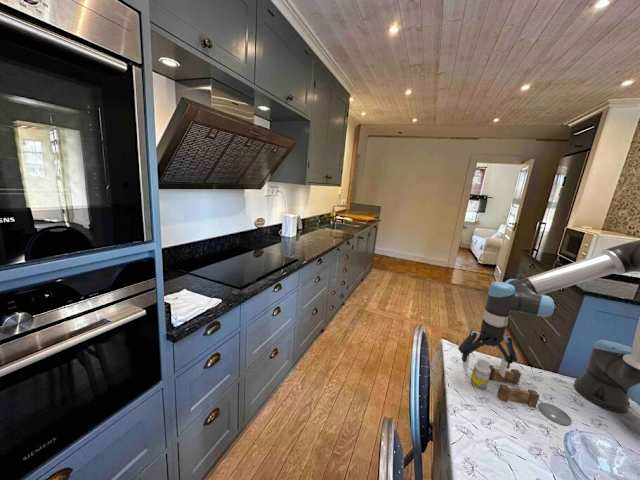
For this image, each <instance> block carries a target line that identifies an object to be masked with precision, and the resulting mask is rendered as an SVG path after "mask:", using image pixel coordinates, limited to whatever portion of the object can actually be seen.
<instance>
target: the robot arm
mask: <svg viewBox="0 0 640 480" xmlns="http://www.w3.org/2000/svg"><path fill="white" fill-rule="evenodd" d="M633 272H635V273H636V272H637V273H640V240H639V239H638V240H635V241H634V240H633V241H629V242H625V243H622V244H617V245H615V246H611V247H608V248H606V249H602V250H601V251H600V254H596V255H594V256H590V257H587V258H584V259H581V260H578V261H575V262H572V263H568V264H565V265H562V266H560V267H557V268H553V269H550V270H547V271H543V272H541V273H538V274H534V275H531V276H529V277H526V278H523V279H522V278H521V279H516V278H509V279H507V280H506V281H493V282H491V284H490V286H489V289H488V292H487V299H486V303H485V304H486V305H485V307H484V310H483V316H482V321H481V325H480V331H475V330H474V329H472V330H470V332H469V335H468V336H467V337H466V338H465V339H464V340H463V342H462V343H461V344H460V345H459V346H458V348H457V349H458V351H459V352H460V353H461V354H462V355H461V361H462V365H461V366H462V369H463V370H464V372H467V371H468V368H469V363H470V358H471V356H470V354H471V353H473V352H475V351H476V350H478V349H479V348H481V347H483V346H487V347H488V346H489V347H490V346H491V347H494V348H495V347H497V348H498V349H499V351H500V352H501V354H502V355H503V357H502V358H501V362H500V365H499V368H498V369H499V373H500V375H501V376H502V377H505V373H506V371H507V370H509V369H510V366H511V364H513V362H515V363H516V362H517V361H518V359H517V355H516V352H515V349H514V345H513V338H512V337H511V336H510V335H509V334H505V333H506V330H507V329H506V328H507V325H508V321H509V320H508V319H509V316H510V312H516V313H519V314H520V313H521V314H526V315H530V316H536V317H545V318H548V317H551V316H552V315H553V314H554V310H555V302H554V299H553V298H552V297H551V296H549V295H545V294H547V293H551V292H555V291H558V290H562V289H565V288H568V287H571V286H575V285H578V284H582V283H584V282H585V283H586V282H588V281H592V280H595V279H596V280H597V279H599V278H602V277H606V276H610V275H612V274H617V275H624V274H627V273H633ZM503 341H504V342H505V345H506V347H507V348H506V349H507V351H508V352H507V351H506V350H505V348H504V346H503V345H502V344H501V343H502V342H503ZM592 348H593V349H592V351H591V353H590V357H589V359H588V362H587V365H586V368H585V371H583V373H582V374H581V375H580V376H579V377H577V378H576V379H575V380H574V383H573V387H574V389H575V391H576V392H577V393H578V394H579V395H580V396H582V397H583V398H585V399H586V400H588V401H589V402H590V403H592V404H594V405H597V406H598V407H601V408H603V409H606V410H608V411H611V412H615V413H620V414H622V413H624V414H626V413H627V412H628V411H629V408H630V405H631V403H630V401H629V400H631V401H633V402H634V403H636V404H637V405H638V406H640V317H639V318H638V322H637V326H636V330H635V334H634V339H633V343H632V346H627V345H625V344H621V343H620V342H615V341H611V340H606V339H599V340H596V341H595V343H594V345H593V346H592Z"/></svg>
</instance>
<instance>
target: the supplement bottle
mask: <svg viewBox="0 0 640 480" xmlns="http://www.w3.org/2000/svg"><path fill="white" fill-rule="evenodd" d="M490 365H491V364H490V362H489V361H487V360H485V359H482V358H479V359H478V360H477V362H475V363H474V365H473V370H472V373H471V378H470V383H471V384H472V385H473V386H474V387H475V388H477V389H480V390H486V389H487V387H488V382H489V376H490V372H491V369H490V368H489V366H490Z"/></svg>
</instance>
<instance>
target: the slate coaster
mask: <svg viewBox="0 0 640 480" xmlns="http://www.w3.org/2000/svg"><path fill="white" fill-rule="evenodd" d="M537 408H538V411H539V412H540V413H541V414H542V415H543V416H544V417H545V418H547V419H548V420H550V421H551V422H553V423H555V424H558V425H561V426H566V427H568V426H571V424H572V423H573V422H572V419H571V417H570V415H569V414H568V413H567V412H565V411H564V410H563V409H561V408H560V407H558V406H557V405H554V404H551V403H548V402H540V403H538V404H537Z"/></svg>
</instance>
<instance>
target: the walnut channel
mask: <svg viewBox="0 0 640 480" xmlns="http://www.w3.org/2000/svg"><path fill="white" fill-rule="evenodd" d="M489 368H490V369H491V372H490V376H489V380H490V381H494V382H495V381H496V382H500V383H501V384H499V387H498V391H497V395H496V397H497V398H498V399H499V401H500V402H504V403H508V401H509V402H512V403H519V404H523V405H524V404H525V405H527V406H528V407H530V408H534V409H535V408H537V406H538V402H539V399H540V394H539V393H538V392H537V390H534V389H530V388H529V389H527V390H525V389H520V388H514V387H509V386H508V385H507V384H511V385H517V386H518V385H519V383H520V378H521V376H522V373H521V372H520V371H519V370H518V369H515V368H511V370H506V373H505V377H502V376H501V375H500V373H499V369H500V368H495V367H494V365H492V364H490V366H489ZM489 380H488V381H489ZM503 383H506V384H503Z"/></svg>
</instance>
